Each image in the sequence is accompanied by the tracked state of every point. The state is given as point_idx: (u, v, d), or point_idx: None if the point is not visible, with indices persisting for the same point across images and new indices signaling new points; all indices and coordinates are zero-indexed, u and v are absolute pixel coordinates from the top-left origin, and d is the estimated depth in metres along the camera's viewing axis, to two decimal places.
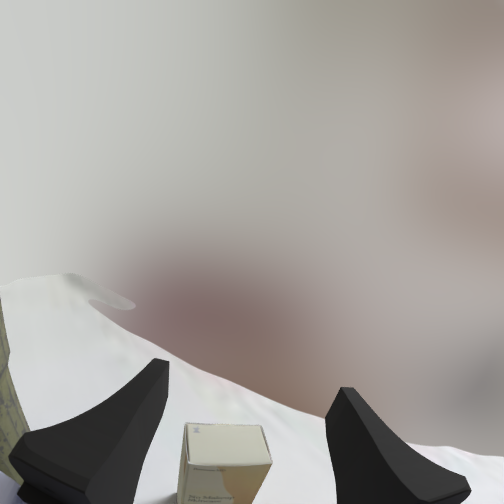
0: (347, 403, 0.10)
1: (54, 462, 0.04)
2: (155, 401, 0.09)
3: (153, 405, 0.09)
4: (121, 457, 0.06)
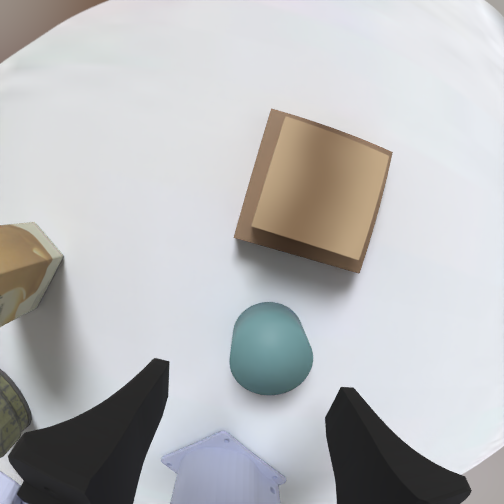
0: (347, 403, 0.10)
1: (55, 461, 0.04)
2: (155, 401, 0.09)
3: (153, 405, 0.09)
4: (121, 457, 0.06)
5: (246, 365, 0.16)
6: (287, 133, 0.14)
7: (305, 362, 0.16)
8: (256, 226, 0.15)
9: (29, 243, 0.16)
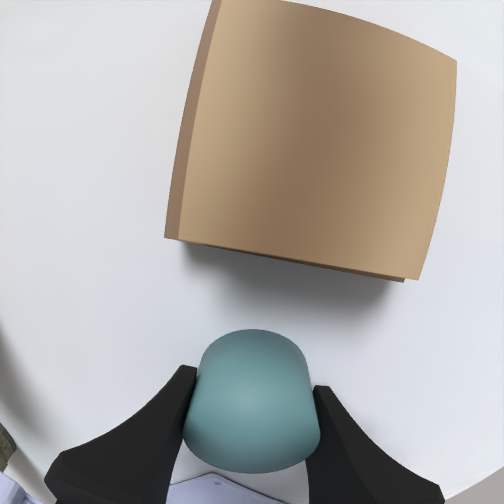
0: (320, 402, 0.10)
1: (100, 482, 0.04)
2: (185, 408, 0.09)
3: (184, 413, 0.09)
4: (160, 469, 0.06)
5: (210, 445, 0.09)
6: (231, 23, 0.05)
7: (307, 440, 0.09)
8: (188, 238, 0.07)
9: None
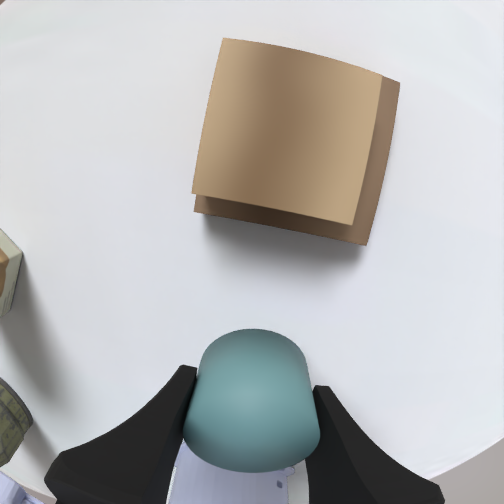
0: (320, 402, 0.10)
1: (100, 482, 0.04)
2: (185, 408, 0.09)
3: (184, 413, 0.09)
4: (161, 469, 0.06)
5: (210, 445, 0.09)
6: (227, 58, 0.09)
7: (307, 439, 0.09)
8: (198, 192, 0.10)
9: None
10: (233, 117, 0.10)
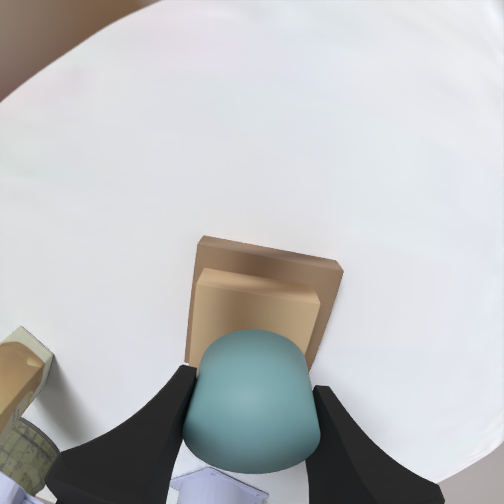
0: (320, 402, 0.10)
1: (100, 482, 0.04)
2: (185, 408, 0.09)
3: (184, 412, 0.09)
4: (161, 469, 0.06)
5: (210, 446, 0.09)
6: (201, 301, 0.14)
7: (307, 440, 0.09)
8: None
9: (22, 356, 0.18)
10: (210, 340, 0.15)
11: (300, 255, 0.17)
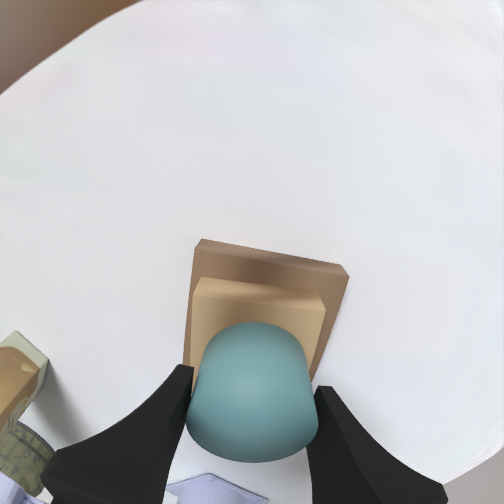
0: (323, 402, 0.10)
1: (96, 480, 0.04)
2: (182, 408, 0.09)
3: (181, 412, 0.09)
4: (156, 468, 0.06)
5: (213, 433, 0.10)
6: (199, 312, 0.13)
7: (306, 428, 0.09)
8: None
9: (17, 361, 0.17)
10: None
11: (303, 260, 0.16)
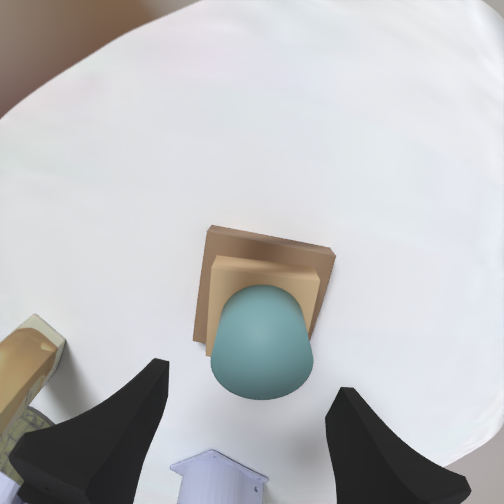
0: (347, 403, 0.10)
1: (55, 461, 0.04)
2: (155, 401, 0.09)
3: (153, 405, 0.09)
4: (121, 457, 0.06)
5: (231, 369, 0.13)
6: (216, 283, 0.16)
7: (304, 364, 0.13)
8: (209, 355, 0.18)
9: (36, 341, 0.20)
10: None
11: (297, 242, 0.19)
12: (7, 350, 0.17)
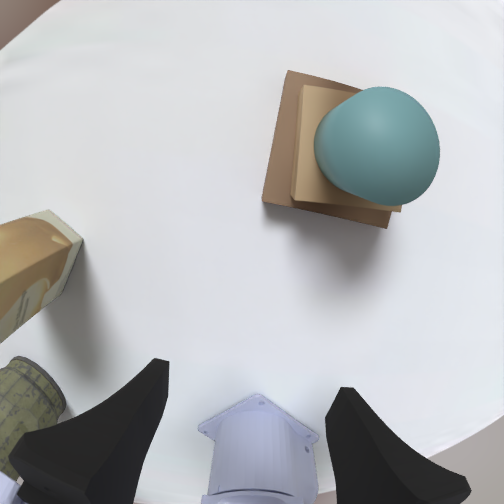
0: (347, 403, 0.10)
1: (55, 461, 0.04)
2: (155, 401, 0.09)
3: (153, 405, 0.09)
4: (121, 457, 0.06)
5: (357, 150, 0.10)
6: (309, 101, 0.13)
7: (431, 149, 0.10)
8: (299, 199, 0.15)
9: (47, 231, 0.17)
10: None
11: None
12: (7, 232, 0.14)
